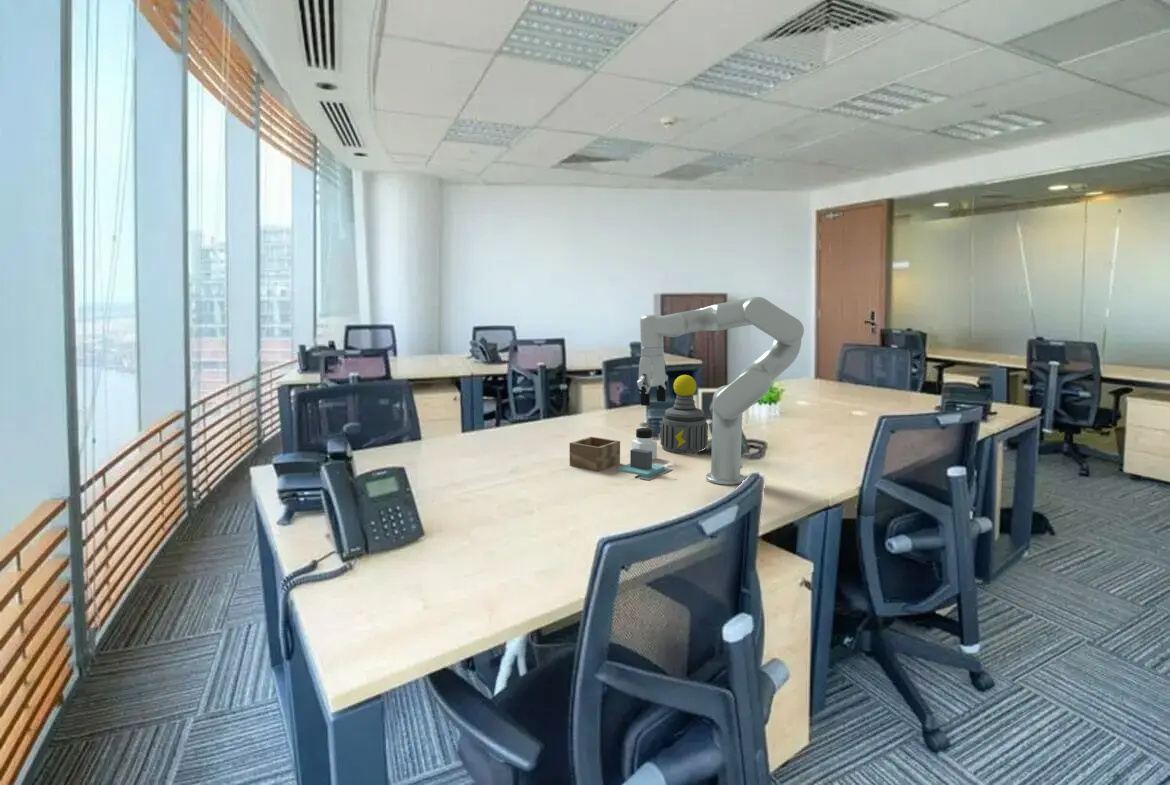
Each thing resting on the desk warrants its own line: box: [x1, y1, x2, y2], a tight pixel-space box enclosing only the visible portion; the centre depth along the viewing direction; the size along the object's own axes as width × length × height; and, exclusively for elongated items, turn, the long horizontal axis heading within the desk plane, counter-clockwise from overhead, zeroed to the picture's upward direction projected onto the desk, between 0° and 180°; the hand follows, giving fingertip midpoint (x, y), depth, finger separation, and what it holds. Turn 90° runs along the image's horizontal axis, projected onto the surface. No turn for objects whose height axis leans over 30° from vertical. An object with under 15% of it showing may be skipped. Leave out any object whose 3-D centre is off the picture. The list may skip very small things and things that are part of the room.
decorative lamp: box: [659, 374, 709, 454], centre depth 248 cm, size 19×19×30 cm
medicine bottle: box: [631, 426, 658, 460], centre depth 233 cm, size 7×7×12 cm
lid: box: [616, 448, 666, 477], centre depth 217 cm, size 12×12×7 cm
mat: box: [634, 467, 673, 481], centre depth 217 cm, size 16×16×1 cm
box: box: [569, 436, 621, 472], centre depth 224 cm, size 13×13×9 cm
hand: (653, 403), depth 208 cm, fingers open, 9 cm apart
